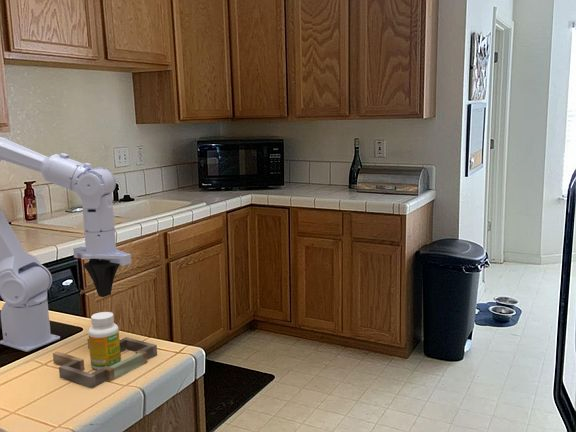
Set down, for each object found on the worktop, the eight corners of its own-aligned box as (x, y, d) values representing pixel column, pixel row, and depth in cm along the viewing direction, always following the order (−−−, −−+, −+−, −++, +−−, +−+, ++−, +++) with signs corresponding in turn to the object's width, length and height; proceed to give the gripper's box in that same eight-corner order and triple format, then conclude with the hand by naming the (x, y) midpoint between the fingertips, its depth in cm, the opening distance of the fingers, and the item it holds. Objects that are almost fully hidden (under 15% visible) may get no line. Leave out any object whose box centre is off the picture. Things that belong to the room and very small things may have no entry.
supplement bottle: (112, 371, 101) (108, 321, 100) (85, 369, 103) (81, 319, 101) (126, 359, 107) (122, 311, 105) (100, 357, 108) (96, 309, 106)
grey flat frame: (37, 370, 103) (36, 360, 102) (105, 340, 116) (104, 331, 116) (94, 389, 95) (93, 378, 94) (160, 355, 108) (159, 345, 108)
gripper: (58, 230, 111) (64, 295, 113) (109, 236, 103) (114, 306, 105) (87, 224, 116) (92, 286, 119) (137, 229, 109) (141, 296, 111)
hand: (104, 295), depth 113 cm, fingers closed
